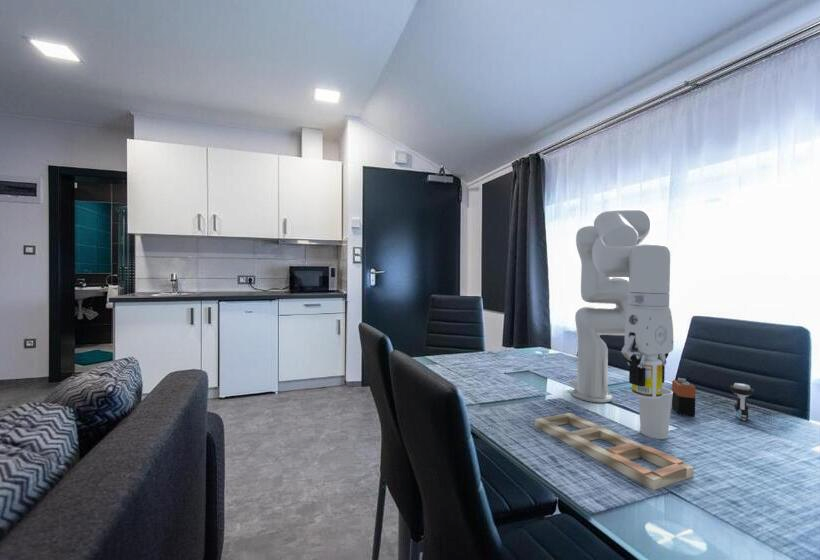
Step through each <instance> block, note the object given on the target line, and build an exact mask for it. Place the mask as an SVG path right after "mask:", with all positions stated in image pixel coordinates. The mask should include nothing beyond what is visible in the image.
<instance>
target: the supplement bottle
mask: <svg viewBox="0 0 820 560" xmlns="http://www.w3.org/2000/svg"><path fill="white" fill-rule="evenodd" d="M636 352H639V350H637V351H636ZM640 353H641V352H640ZM636 357H637V359H638V360H639V356H638V355H636ZM657 358H658V355H646V357H645V361H644V365H643V368H645V386H644V387H641V386H638V385H634V384H631V393H632V394H633V396H636V397H637V398H638V397H641V398H645V399H660V398H661V397H662V387H663V383H662V361H661V360H660V359H657Z"/></svg>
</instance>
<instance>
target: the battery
mask: <svg viewBox="0 0 820 560" xmlns="http://www.w3.org/2000/svg"><path fill="white" fill-rule="evenodd" d="M671 384H672V385H671V389H672V390H671V391H672V392H673V397H672V404H671V409H673V410H675V412H676V413H677V414H678V415H683V416H691V417H695V415H696V390H697V389H696V387H695V385H693V384H692V383H690V382H689V381H687V379H686V378H682V377H678V378H677V379H673V380H672V381H671Z"/></svg>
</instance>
